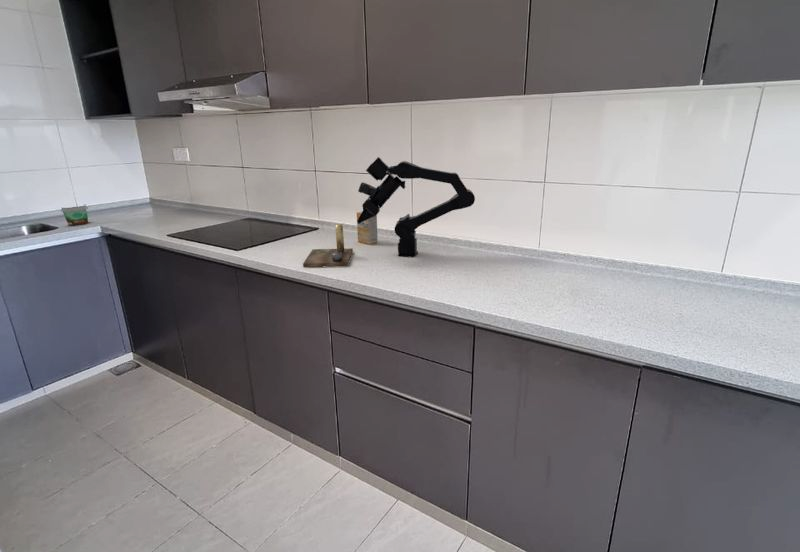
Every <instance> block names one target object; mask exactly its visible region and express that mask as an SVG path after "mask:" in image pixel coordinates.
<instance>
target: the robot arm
mask: <svg viewBox="0 0 800 552" xmlns="http://www.w3.org/2000/svg"><path fill="white" fill-rule="evenodd" d="M365 171H366V172H367V173H368V174H369V175H370V176H371V177H372V178H373V179H374V180H375V181H381V182H382V183H380V185H378V186H377V187H375V186H373V185H370V184H368V183H367V182H364V181H363V182H361V183H360V185H359V187H358V190H357V191H358V193H361V194H364V195H366V196H368V198H367V199H365V201H363V203H362V211H363V212H362V211H361V212H362V213H361V215H360V217H359V219H358V220H357V219H356V223H357V222H358V223H361V222H363V221H365V220H367V219H369V218H372V217H374V216H376V215H377V216H378V214H379V213H380V212H381V208H383V206H384V205H385V204H386V202H387V201H388V200H390V198H391V197H392V196H393V195H394V193H396V192H397V190H398V189H399V188H400V187H401V189H403V190H405V189H406V180H407V179H411V180H412V179H413V180H414V179H423V180H428V181H433V182H439V183H444V184H450V186H452V188H453V189H454V191H455V192H456V193H455V194H454V195H453V196H452V197H451V198H449V199H448V200H446V201H444V202H442V203H439V204H438V205H436V206H434V207H431V208H430V209H429V208H428V210H425V211H423V212H421V213H418V214H417V215H413V216H410V213H407V214H406V215H405V216H402V217H401V216H400V217H399V218H398V219H399V220H397V221H396V223H395V226H394V233H395V235H396V236H397V237H399V240H398V243H397V253H398V255H397V256H398V257H408V256H411V257H410V258H414V256H415V257H416V256H417V254H418V253H419V251H418V240H417V239H418V238H416V233H417V232H416V229H417V228H419V227H420V226H422V225H425V224H427V223H429V222H432V221H433V220H435V219H438V218H440V217H441V216H444V215H446V214H448V213H450V212H452V211H458V210H462V209H465V208H470V207H472V206H473V205H474V203H475V201H476V197H475V194H474V193H473V191H472V190H470V189H469V188H467V187H466V185H465V184H464V183H463V181H462V180H461V178H460V176H459V174H458V173H456V172H450V171H442V170H438V169H432V168H427V167H426V168H425V167H422V166H419V165H417V164H414V163H413V162H409V161H406V160H403V161H400V162H399V163H397V165H393V166H392V165H391V166H389V165H387V164H386V163H385V162H384V161H383V160H382V158H381V157H380V156H379V157H377V158H376V159H375V160H374V161H373V162H371V164H370V165H369V166H368V167H367V168H366V170H365ZM394 175H395V176H394ZM386 176H387V177H386ZM385 177H386V178H385ZM384 178H385V179H384ZM402 179H403V180H402Z"/></svg>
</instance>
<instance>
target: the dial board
mask: <svg viewBox="0 0 800 552" xmlns="http://www.w3.org/2000/svg"><path fill="white" fill-rule="evenodd" d="M334 252H337V248H319V249H318V248H317V249H315V248H313V249H312V250H311V251H310V252H309V254H308V256H306V259H305V260H304V261H303V262H302V265H303V266H302V268H303V267H309V268H324V267H323V266H348V267H349V265H348V264H350V262H349V261H351V259H350V258H352V256H351V255H353V253H352V252H354V250H353V247H351V248H350V247H349V248H344V252H342V260H341V261H333V260H332V253H334Z"/></svg>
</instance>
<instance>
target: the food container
mask: <svg viewBox="0 0 800 552" xmlns="http://www.w3.org/2000/svg"><path fill="white" fill-rule="evenodd" d="M87 209H88V206H87V204H84V205H81V206H80V205H79V206H71V207H61V209H60V211H61V212H62V213H63V216H64V218H65V221H66V223H67V226H68V225H69V227H70V226H71V227H72V226H73V227H75V226H74V225H77V226H84V225H87V224H89V218H88V210H87Z"/></svg>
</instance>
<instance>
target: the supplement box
mask: <svg viewBox="0 0 800 552" xmlns="http://www.w3.org/2000/svg"><path fill="white" fill-rule="evenodd" d="M362 212H363V210H362V211H358V212H356V230H357V242H358V243H361V242H362V244H365V243H366V244H365V245H369V244H372V245H375V244H374V243H376V244H378V243H377V242H379V241H378V240H379V239H378V214H377V215H376V216H374V217H372V218H369V219H367V220H365V221H363V222H361V223H358V222H357V220H358V219H359V217H360V215H361V213H362Z"/></svg>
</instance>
